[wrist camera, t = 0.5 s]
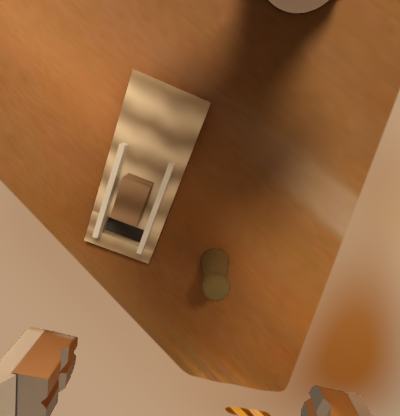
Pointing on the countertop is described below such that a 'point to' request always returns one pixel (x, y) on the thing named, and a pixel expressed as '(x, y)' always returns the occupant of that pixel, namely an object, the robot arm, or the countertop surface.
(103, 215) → the channel walls
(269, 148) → the countertop surface
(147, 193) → the walnut block
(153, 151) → the board
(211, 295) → the cork
